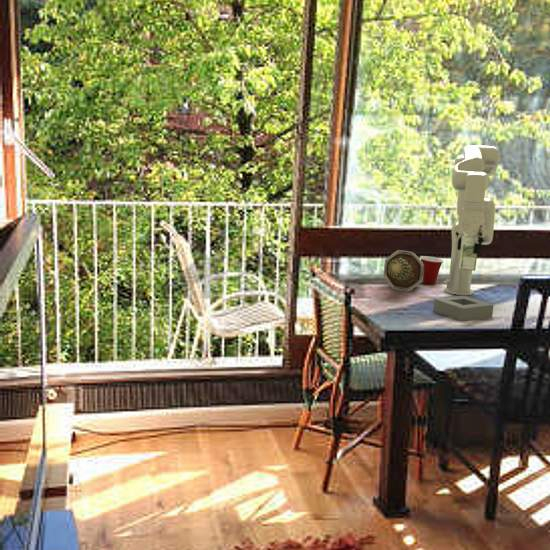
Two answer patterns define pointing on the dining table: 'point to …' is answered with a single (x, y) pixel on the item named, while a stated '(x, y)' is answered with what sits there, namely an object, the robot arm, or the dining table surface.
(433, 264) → the plastic cup
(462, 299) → the socket stand
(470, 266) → the syrup box
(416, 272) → the potted plant
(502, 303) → the dining table surface
